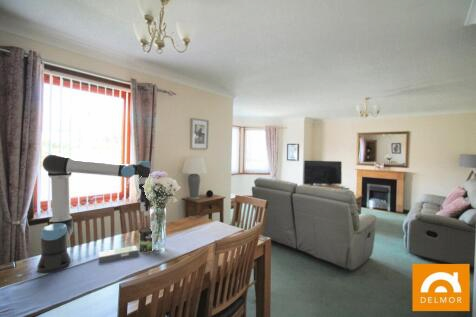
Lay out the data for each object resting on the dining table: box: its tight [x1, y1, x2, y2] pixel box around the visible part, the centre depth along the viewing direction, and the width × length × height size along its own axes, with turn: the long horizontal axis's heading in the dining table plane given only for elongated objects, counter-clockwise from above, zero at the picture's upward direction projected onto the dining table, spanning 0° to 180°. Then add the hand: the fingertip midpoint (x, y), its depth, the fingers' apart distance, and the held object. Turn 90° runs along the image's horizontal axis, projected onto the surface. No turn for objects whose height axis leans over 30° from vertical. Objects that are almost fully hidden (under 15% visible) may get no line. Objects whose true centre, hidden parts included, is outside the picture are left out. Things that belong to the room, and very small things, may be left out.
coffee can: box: [138, 226, 153, 254], centre depth 161 cm, size 10×10×14 cm
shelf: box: [98, 245, 140, 264], centre depth 152 cm, size 22×12×3 cm, turn 121°
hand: (144, 213), depth 167 cm, fingers open, 13 cm apart
